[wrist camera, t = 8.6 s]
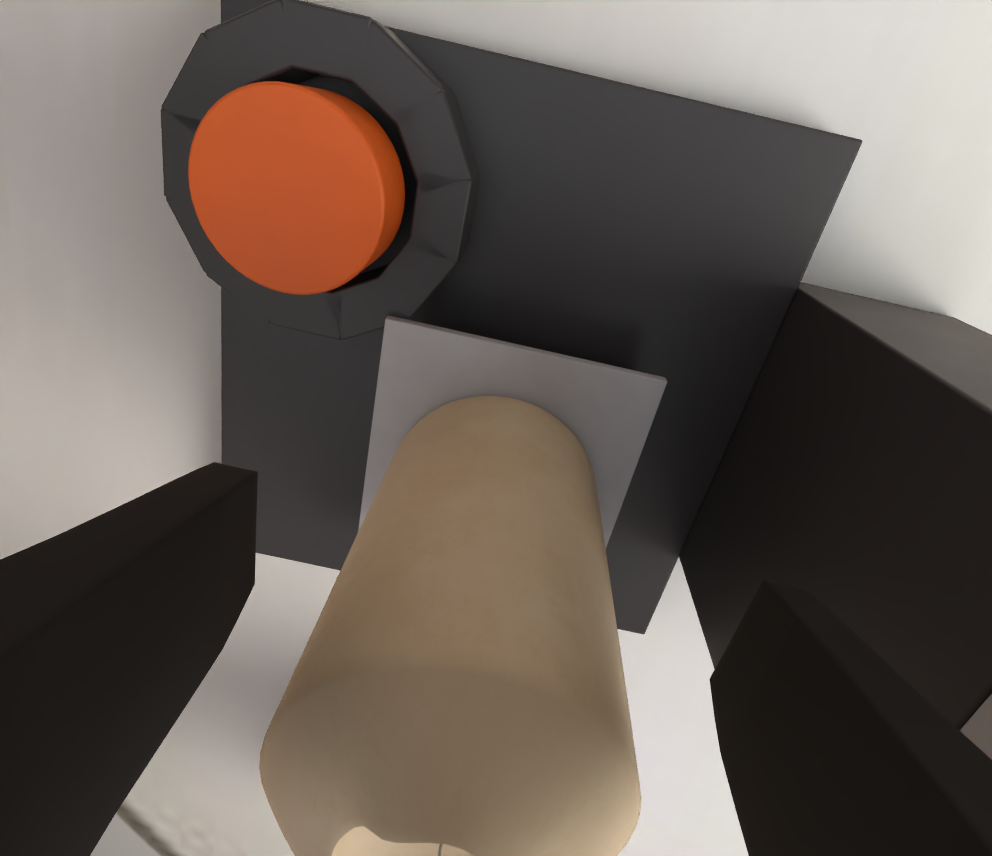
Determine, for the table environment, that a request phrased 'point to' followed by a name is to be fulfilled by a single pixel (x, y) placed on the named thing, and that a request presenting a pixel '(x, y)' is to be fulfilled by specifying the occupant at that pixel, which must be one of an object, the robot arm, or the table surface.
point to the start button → (295, 185)
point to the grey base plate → (509, 261)
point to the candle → (464, 659)
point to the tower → (787, 473)
